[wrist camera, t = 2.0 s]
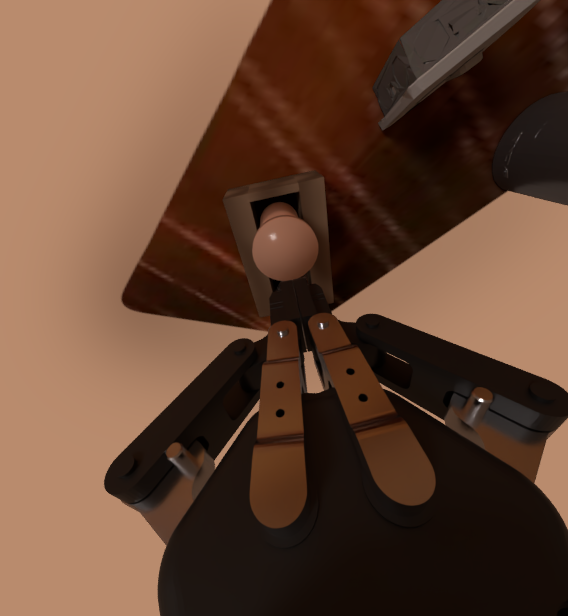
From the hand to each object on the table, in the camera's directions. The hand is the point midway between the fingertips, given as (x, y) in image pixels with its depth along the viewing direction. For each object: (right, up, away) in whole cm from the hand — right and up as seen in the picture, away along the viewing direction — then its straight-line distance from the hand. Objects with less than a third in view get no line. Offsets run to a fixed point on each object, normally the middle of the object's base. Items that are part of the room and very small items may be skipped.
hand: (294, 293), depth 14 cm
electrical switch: (+11, +22, +9) cm, 26 cm away
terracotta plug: (-1, +8, +11) cm, 14 cm away
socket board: (-1, +8, +18) cm, 19 cm away
